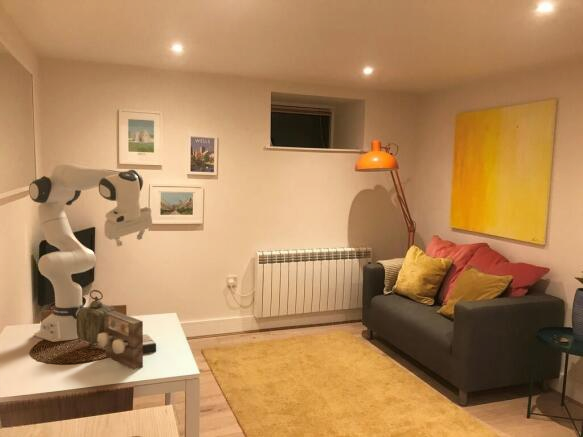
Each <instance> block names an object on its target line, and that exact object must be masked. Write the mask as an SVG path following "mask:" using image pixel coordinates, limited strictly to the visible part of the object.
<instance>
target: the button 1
mask: <svg viewBox="0 0 583 437" xmlns="http://www.w3.org/2000/svg"><path fill="white" fill-rule="evenodd" d="M110 339H113V335H111V336H108V334H107V333H106V332H104V333H100V334H98V336H97V341H98V343H97V344H98V346H100V347H101V348H102V347H106V346H107V345H108V344H109V340H110Z"/></svg>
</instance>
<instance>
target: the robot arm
mask: <svg viewBox="0 0 583 437" xmlns="http://www.w3.org/2000/svg"><path fill="white" fill-rule="evenodd" d="M143 186H144V179H143V177H142V175H141V174H140V173H139V172H138V171H136V170H134V169H129V170H127V171H125V170H124V171H119V170H111V169H103V168H98V167H97V168H96V167H91V166H86V165H80V164H77V163H71V162H68V163H67V162H65V163H59V164H57V165H56V166H54V168H53V169H52V171H51V176H46V175H43V176H41V177H40V178H38V179H35V180H32V182H31V183H30V184H29V186H28V194H29V198H30V199H31V200H32V201H33V202H35V203H39V205H38V209H37V210H38V217H39V221H40V226H41V229H42V232H43V234H44V238H45V240H46V242H47V243H48V244H49V245H50V246H53V247H55V248H57V249H58V251H53V252H49V253H46V254H43V255H42V256H41V257H40V258H39V260H38V263H37V265H38V266H37V267H38V271H39V273H40V275H41V276H44V278H47V279H48V280H49V281H50V283H51V284H52V287H53V291H54V301H55V302H54V303H55V304H54V305H53V306H50V310H52V313H51V314H49V315H48V316H47V317H46V318H44V319H43V320H42V321H41V322H40V326H39V327H40V328H39V330H37V331H36V332H35V333H34V334H33V335H34V337H36V338H39V339H43V340H46V341H50V342H53V343H55V342H60V341H61V342H62V341H71V340H76V339H79V338H78V335H77V325H76V323H77V313H78V311H79V310H80V309H81V308H84V302H83V287H82V286H81V285H80V284H79V283H77V282H75V281H73V278H72V275H73V274H80V273H85V272H87V271H89V270H91V269H94V267H95V265H96V261H97V257H96V254H95V253H94V251H93V250H92V249H90V248H88V247H87V246H85V245H83V244H82V243H81V242H80V241H79V240H78V238H76V236H75V234H74V232H73V230H72V227H71V226H70V223H69V222H70V221H69V219H68V216H67V214H66V211H65V206H71V205H72V204H73V203H74V202H75V201H77V200H78V198H80V195H81V194H82V191H86V190H91V189H94V188H98V191H99V195H100V196H101V197H102V198H103V199H104V200H107V201H111V202H116V206H115V208H113V209H111V210H110V211H108V212H107V213H105V219H106V220H105V221H104V236H105V238H107V239H108V240H115V242H116V246H117V247H122V246H123V241H121V240H120V238H121V237H124V236H127V235H131V234H134V233H137V232H139V233H138V234H136V239H137V240H138V241H140V240H142V239H143V235H144V234H145V232H146V231H145V230H147V229H150V228H152V226H153V218H152V209H151V208H150V207H148V206H146V207H142V208H141V203H140V197H141V191H142V189H143Z"/></svg>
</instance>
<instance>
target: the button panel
mask: <svg viewBox="0 0 583 437" xmlns="http://www.w3.org/2000/svg"><path fill="white" fill-rule="evenodd" d="M143 327H144V325H143V320H140V319H137V318H135V317H133V316H129V315H127V314H124V313H122V312H118V311H116V310H115V311H111V312H107V313H105V332H106V333H107V334H108V336H111V335H113V339H110V340H109V344H108V345H107V346H105V357H106V356H107V357H106V358H108V357H109V359H110V360H112V361H114V362H117V363H118V364H121V365H122V366H124V367H127V368H129V369H131V370H133V371H135V370H137V369H140V368H143V367H144V366H143V364H144V354H143V335H144V332H143V330H144V329H143ZM117 339H122V340H123V342H124V343H125V342H129V345H128V346H125V350H124V352H123V353H119V354H116V353H115V352H114V351H113V347H112V344H113V341H114V340H117Z"/></svg>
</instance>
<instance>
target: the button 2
mask: <svg viewBox="0 0 583 437" xmlns="http://www.w3.org/2000/svg"><path fill="white" fill-rule="evenodd" d="M128 345H129V342H125V343H124V342H123V340H122V339H117V340H114V341H113V344H112V347H113V351H114V352H115V353H116V354H119V353H123V352H124V350H125V346H128Z"/></svg>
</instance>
